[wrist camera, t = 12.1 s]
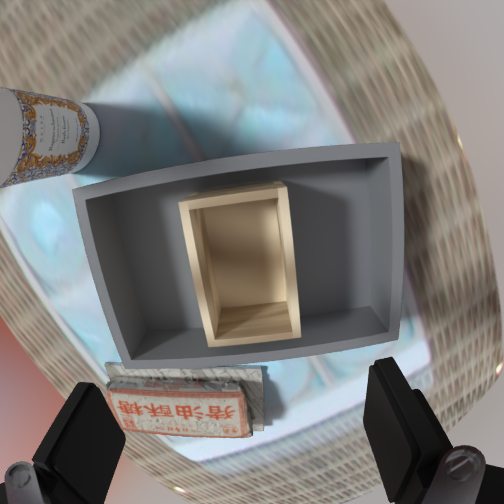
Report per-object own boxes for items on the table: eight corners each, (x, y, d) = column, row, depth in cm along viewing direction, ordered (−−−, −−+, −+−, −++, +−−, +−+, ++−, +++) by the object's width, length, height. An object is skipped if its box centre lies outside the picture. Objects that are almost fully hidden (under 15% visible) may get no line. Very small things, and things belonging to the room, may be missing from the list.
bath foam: (103, 169, 26) (-82, 215, 7) (46, 176, 26) (-121, 224, 7) (102, 97, 24) (-75, 57, 5) (45, 109, 24) (-121, 104, 5)
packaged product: (118, 441, 31) (91, 383, 28) (128, 416, 36) (107, 358, 33) (265, 451, 31) (263, 391, 28) (264, 422, 35) (262, 361, 32)
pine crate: (194, 191, 26) (178, 202, 20) (279, 179, 25) (286, 187, 20) (216, 310, 29) (208, 347, 23) (292, 302, 29) (301, 337, 23)
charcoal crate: (105, 181, 26) (71, 189, 21) (370, 143, 25) (399, 142, 20) (143, 335, 31) (125, 369, 25) (376, 308, 30) (398, 339, 24)
